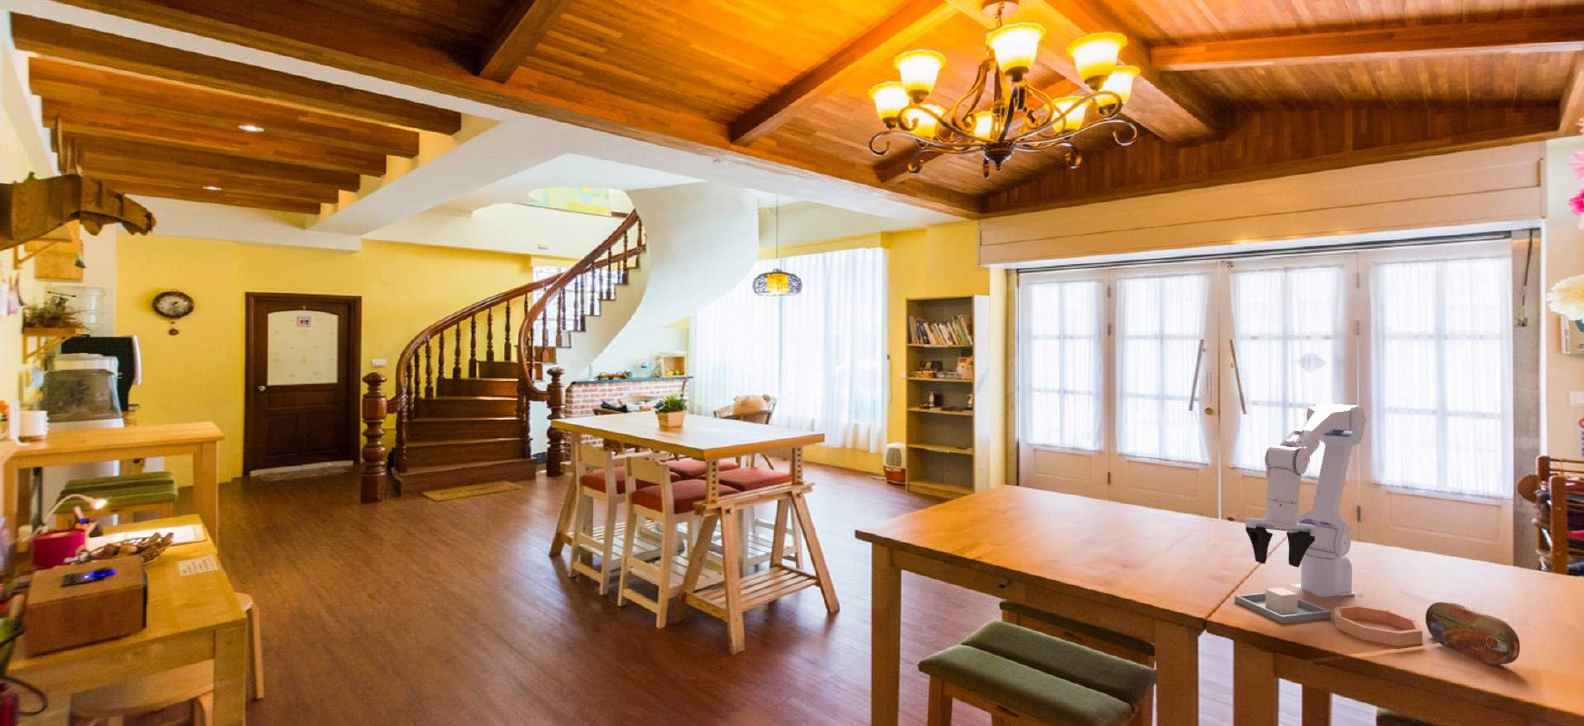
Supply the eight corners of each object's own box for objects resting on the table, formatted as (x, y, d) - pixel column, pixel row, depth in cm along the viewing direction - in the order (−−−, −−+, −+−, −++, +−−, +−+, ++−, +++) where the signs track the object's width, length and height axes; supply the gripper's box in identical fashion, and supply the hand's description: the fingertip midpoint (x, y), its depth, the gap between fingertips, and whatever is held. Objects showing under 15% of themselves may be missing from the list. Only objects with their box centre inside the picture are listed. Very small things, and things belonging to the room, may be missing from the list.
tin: (1423, 637, 138) (1424, 595, 138) (1438, 636, 139) (1439, 594, 138) (1507, 674, 123) (1508, 627, 123) (1523, 673, 124) (1524, 626, 123)
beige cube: (1280, 605, 154) (1281, 587, 153) (1297, 612, 150) (1297, 593, 150) (1265, 606, 153) (1265, 588, 153) (1281, 614, 149) (1281, 595, 149)
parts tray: (1280, 599, 158) (1280, 590, 158) (1330, 620, 147) (1330, 611, 146) (1234, 604, 156) (1234, 595, 156) (1282, 626, 144) (1282, 616, 144)
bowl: (1370, 617, 148) (1370, 603, 148) (1437, 644, 135) (1438, 628, 135) (1318, 623, 145) (1319, 609, 145) (1382, 651, 133) (1383, 635, 132)
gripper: (1264, 500, 147) (1258, 565, 147) (1329, 508, 148) (1324, 572, 148) (1240, 495, 155) (1235, 557, 154) (1303, 502, 155) (1298, 564, 155)
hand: (1277, 564), depth 151 cm, fingers open, 7 cm apart
